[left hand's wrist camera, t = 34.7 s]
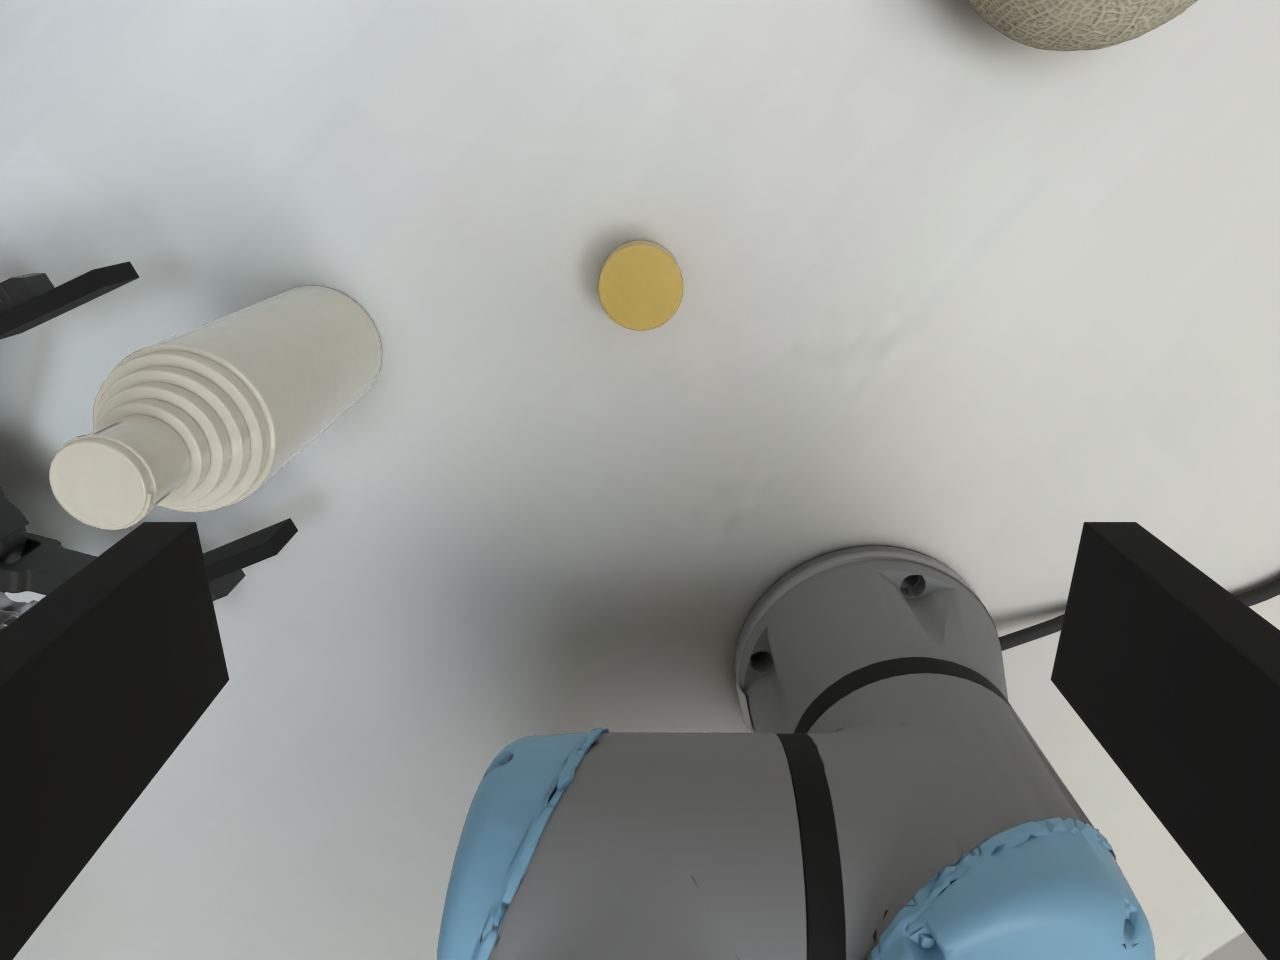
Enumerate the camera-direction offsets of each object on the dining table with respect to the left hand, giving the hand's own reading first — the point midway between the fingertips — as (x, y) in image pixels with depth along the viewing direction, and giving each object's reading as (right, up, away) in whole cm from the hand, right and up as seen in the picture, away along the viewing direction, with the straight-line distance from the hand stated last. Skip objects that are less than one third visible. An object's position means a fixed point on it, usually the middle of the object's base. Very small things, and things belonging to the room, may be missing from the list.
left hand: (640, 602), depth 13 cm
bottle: (-17, +9, +31) cm, 36 cm away
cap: (0, +11, +28) cm, 30 cm away
